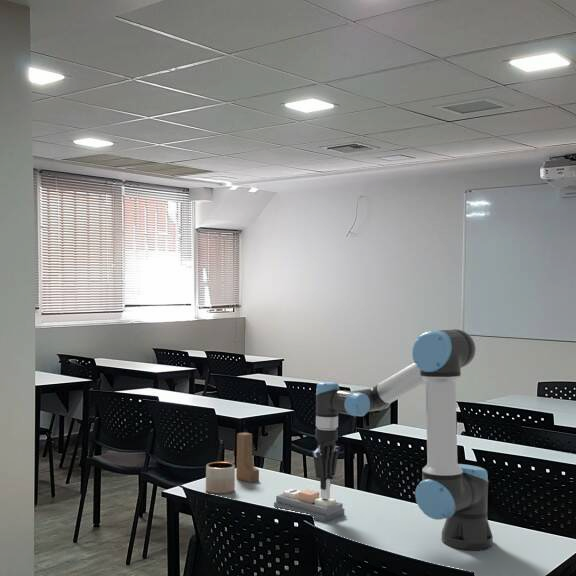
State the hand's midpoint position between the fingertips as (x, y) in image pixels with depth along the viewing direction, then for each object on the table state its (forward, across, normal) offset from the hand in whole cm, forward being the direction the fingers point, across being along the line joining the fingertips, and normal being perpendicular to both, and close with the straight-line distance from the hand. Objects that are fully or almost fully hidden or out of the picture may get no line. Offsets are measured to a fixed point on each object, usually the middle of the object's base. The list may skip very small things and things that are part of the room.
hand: (325, 498), depth 242 cm
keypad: (+6, 0, -7) cm, 9 cm away
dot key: (+3, 0, 0) cm, 3 cm away
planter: (+6, +3, -47) cm, 48 cm away
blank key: (+2, 0, -7) cm, 7 cm away
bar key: (+3, 0, -14) cm, 14 cm away
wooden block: (+6, -15, -50) cm, 53 cm away
